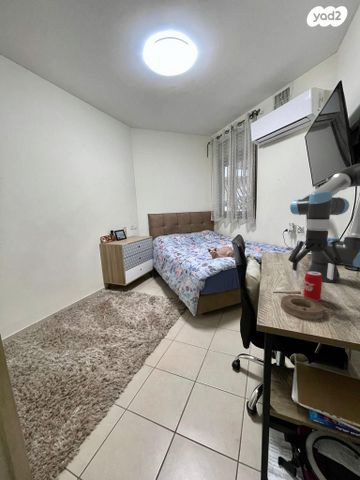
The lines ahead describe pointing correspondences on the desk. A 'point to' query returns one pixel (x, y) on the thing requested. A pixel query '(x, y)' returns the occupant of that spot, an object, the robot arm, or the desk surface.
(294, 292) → the lace cord
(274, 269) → the desk surface
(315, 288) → the beverage can
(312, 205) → the robot arm
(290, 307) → the brown flat ring
